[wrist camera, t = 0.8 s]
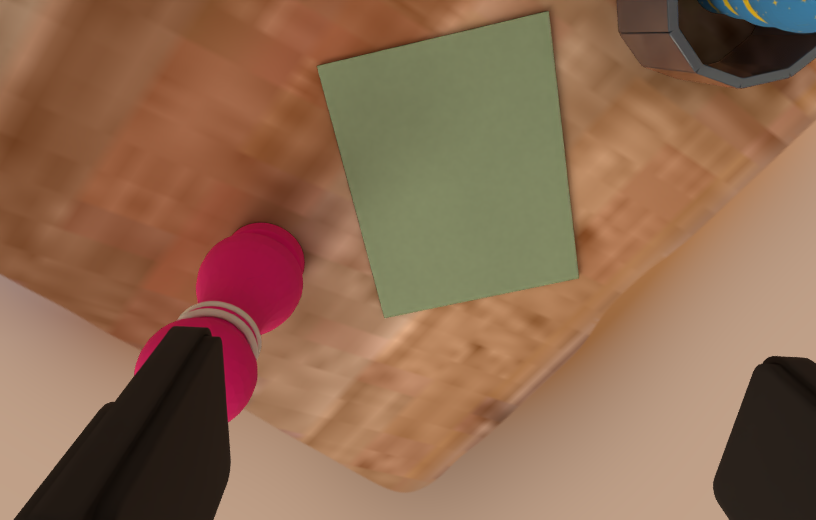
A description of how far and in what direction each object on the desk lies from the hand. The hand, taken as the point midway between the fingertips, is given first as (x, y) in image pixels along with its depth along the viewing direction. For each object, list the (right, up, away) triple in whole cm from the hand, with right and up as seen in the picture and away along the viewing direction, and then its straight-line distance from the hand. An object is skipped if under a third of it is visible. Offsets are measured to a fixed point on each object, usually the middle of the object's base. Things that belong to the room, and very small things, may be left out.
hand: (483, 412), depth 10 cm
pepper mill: (-13, +3, +34) cm, 36 cm away
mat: (+2, +9, +32) cm, 33 cm away
